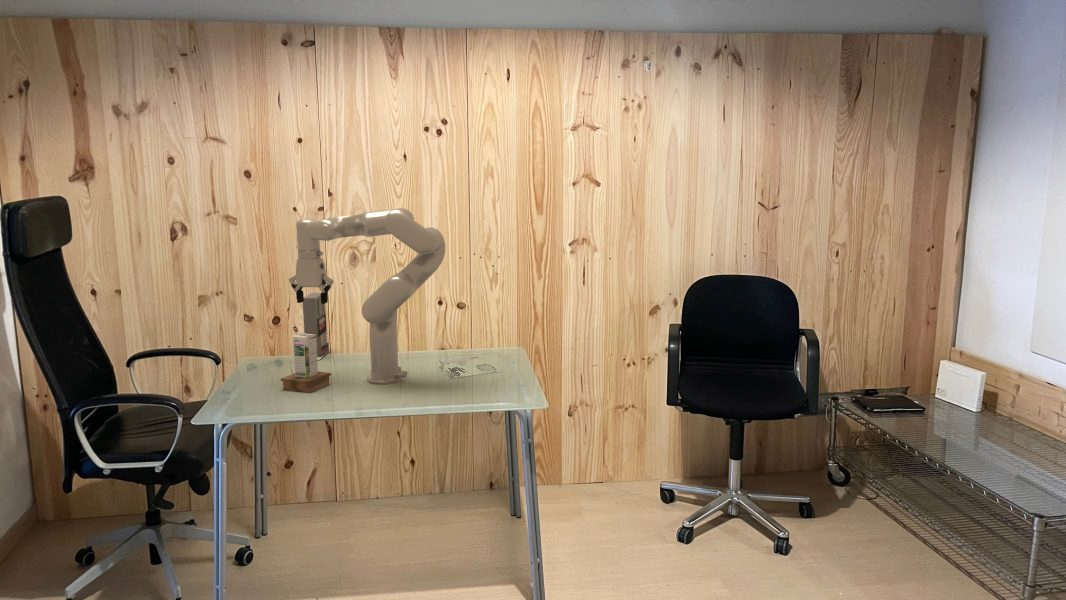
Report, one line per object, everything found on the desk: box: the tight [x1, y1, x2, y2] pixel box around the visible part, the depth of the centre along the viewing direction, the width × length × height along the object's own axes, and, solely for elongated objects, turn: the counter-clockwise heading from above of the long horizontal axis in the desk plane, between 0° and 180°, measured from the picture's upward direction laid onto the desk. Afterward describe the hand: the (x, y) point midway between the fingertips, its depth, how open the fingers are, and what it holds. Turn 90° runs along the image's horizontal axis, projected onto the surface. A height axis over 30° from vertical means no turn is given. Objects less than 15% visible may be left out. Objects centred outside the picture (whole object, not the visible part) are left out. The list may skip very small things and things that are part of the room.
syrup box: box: [292, 333, 319, 378], centre depth 267 cm, size 6×6×14 cm
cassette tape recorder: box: [302, 292, 330, 357], centre depth 311 cm, size 14×6×25 cm, turn 0°
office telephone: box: [438, 356, 481, 377], centre depth 292 cm, size 23×3×20 cm
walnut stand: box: [280, 371, 332, 393], centre depth 268 cm, size 12×12×4 cm
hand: (312, 302), depth 273 cm, fingers open, 9 cm apart
